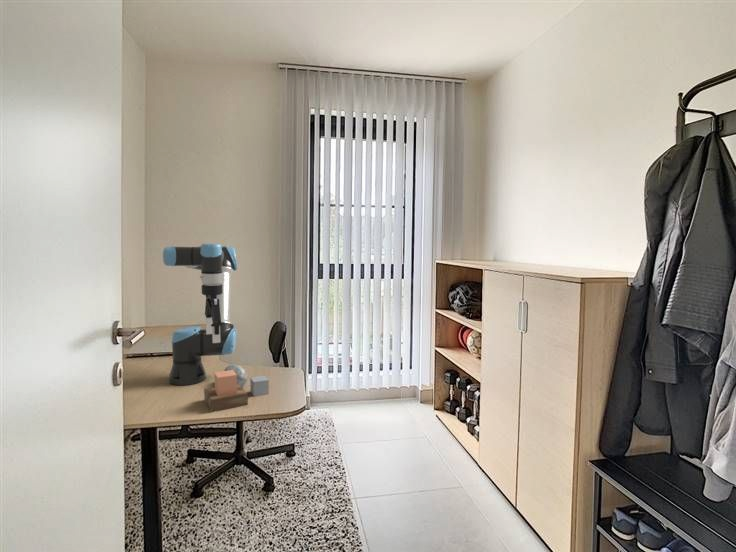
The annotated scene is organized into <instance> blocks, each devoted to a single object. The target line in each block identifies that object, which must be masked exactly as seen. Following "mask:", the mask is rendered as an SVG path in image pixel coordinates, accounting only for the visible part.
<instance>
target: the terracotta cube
mask: <svg viewBox="0 0 736 552" xmlns="http://www.w3.org/2000/svg"><path fill="white" fill-rule="evenodd" d="M214 387H215V391H216V393H217V396H221V395H227V394H234V393H237V375H236V373H235V372H234V370H228V371H224V370H223V371H214Z"/></svg>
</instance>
